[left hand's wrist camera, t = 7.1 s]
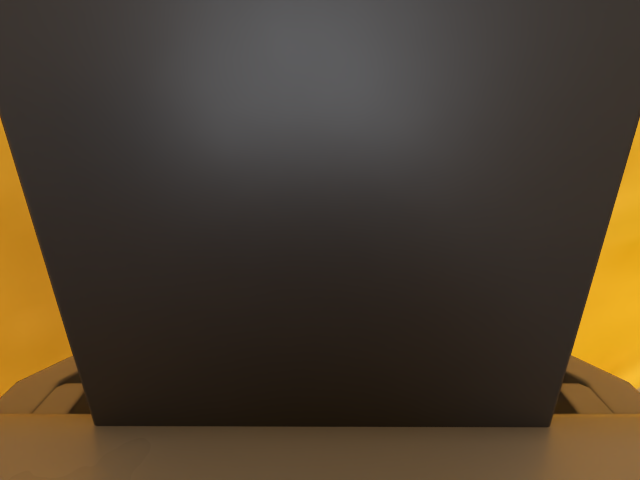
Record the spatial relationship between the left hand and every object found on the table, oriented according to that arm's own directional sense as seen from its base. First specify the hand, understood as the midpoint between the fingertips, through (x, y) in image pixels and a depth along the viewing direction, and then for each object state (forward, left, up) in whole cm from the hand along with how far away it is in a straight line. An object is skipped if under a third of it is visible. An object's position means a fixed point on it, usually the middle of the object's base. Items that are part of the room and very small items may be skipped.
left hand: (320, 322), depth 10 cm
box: (+8, +7, -6) cm, 12 cm away
